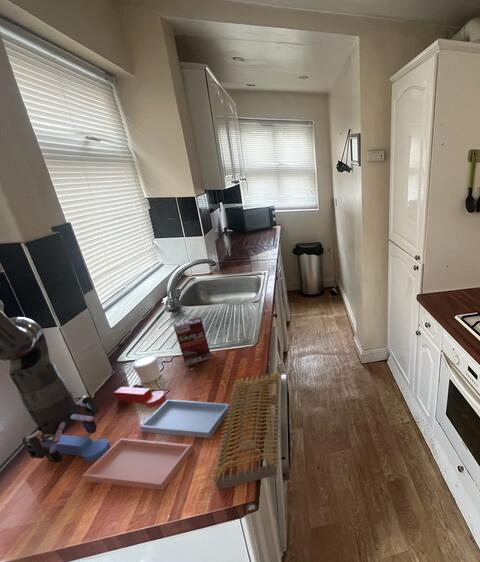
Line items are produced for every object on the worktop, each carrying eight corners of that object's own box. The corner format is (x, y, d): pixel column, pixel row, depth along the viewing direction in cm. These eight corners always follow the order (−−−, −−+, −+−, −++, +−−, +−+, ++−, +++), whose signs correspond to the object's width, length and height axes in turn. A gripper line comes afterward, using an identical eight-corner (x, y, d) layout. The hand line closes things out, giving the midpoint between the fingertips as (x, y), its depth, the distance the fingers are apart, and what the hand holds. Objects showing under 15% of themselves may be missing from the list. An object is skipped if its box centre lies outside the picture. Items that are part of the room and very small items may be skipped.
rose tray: (85, 481, 71) (81, 475, 71) (123, 443, 81) (120, 437, 80) (163, 490, 69) (160, 484, 68) (193, 450, 78) (191, 444, 77)
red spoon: (114, 404, 94) (109, 395, 92) (128, 392, 99) (125, 383, 97) (156, 407, 92) (153, 398, 91) (169, 395, 97) (166, 386, 95)
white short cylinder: (167, 372, 108) (161, 355, 105) (150, 385, 101) (143, 368, 99) (151, 369, 109) (145, 353, 106) (133, 382, 103) (126, 365, 100)
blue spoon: (46, 457, 77) (40, 447, 76) (67, 439, 82) (62, 430, 81) (96, 462, 76) (91, 452, 74) (115, 444, 80) (110, 434, 79)
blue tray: (142, 432, 84) (139, 426, 83) (169, 404, 93) (167, 399, 92) (210, 438, 81) (208, 432, 81) (231, 409, 91) (229, 403, 90)
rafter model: (235, 388, 99) (232, 373, 96) (282, 379, 102) (279, 364, 100) (212, 495, 67) (206, 476, 65) (280, 477, 71) (276, 458, 68)
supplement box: (185, 366, 110) (173, 328, 104) (184, 360, 114) (173, 322, 108) (212, 358, 114) (201, 321, 108) (210, 352, 118) (200, 315, 112)
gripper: (65, 376, 79) (90, 422, 86) (-3, 420, 66) (31, 471, 73) (90, 377, 78) (114, 424, 85) (26, 422, 65) (59, 474, 72)
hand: (76, 446), depth 79 cm, fingers open, 8 cm apart
